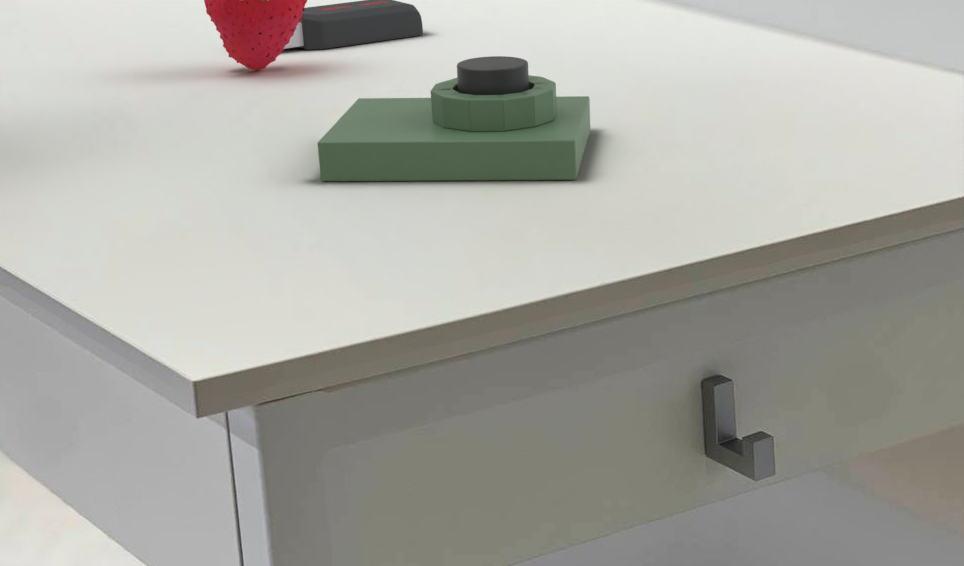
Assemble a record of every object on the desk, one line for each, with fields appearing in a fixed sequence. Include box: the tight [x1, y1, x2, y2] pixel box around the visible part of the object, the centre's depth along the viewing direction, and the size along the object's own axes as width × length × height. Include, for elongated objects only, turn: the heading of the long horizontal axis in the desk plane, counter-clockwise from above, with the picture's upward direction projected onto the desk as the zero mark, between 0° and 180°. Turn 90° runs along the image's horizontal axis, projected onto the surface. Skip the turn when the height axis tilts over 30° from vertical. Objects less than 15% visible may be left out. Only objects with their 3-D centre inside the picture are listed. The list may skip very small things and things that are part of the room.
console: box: [317, 75, 591, 182], centre depth 92 cm, size 14×11×4 cm
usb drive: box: [284, 0, 424, 51], centre depth 128 cm, size 5×12×3 cm, turn 127°
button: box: [456, 55, 529, 95], centre depth 91 cm, size 4×4×2 cm
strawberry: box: [203, 0, 308, 71], centre depth 115 cm, size 6×7×10 cm
